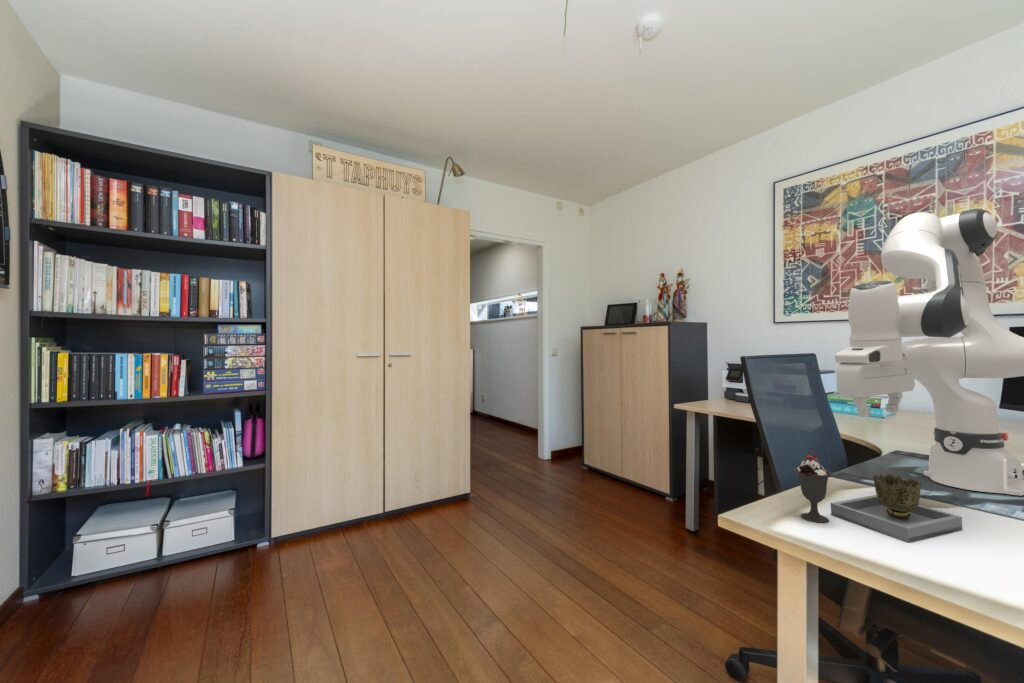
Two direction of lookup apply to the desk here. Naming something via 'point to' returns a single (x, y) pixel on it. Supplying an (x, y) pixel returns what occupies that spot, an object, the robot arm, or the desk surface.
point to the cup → (897, 494)
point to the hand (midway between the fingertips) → (878, 414)
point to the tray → (909, 530)
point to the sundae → (813, 486)
